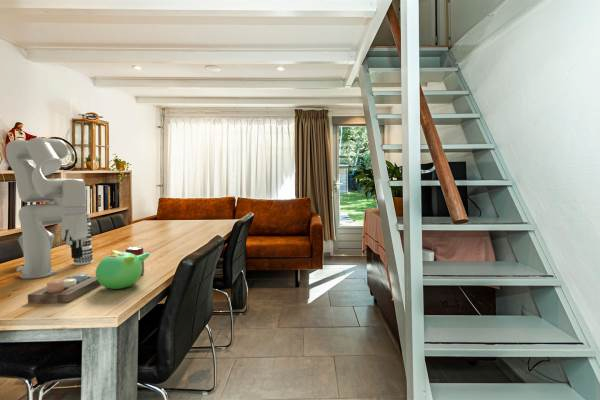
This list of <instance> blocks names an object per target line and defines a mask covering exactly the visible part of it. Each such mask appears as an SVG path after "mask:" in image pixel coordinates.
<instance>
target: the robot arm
mask: <svg viewBox="0 0 600 400" xmlns="http://www.w3.org/2000/svg"><path fill="white" fill-rule="evenodd" d="M68 153H69V148H68V146H67V144H66V143H65V141H63V140H62V139H60V138H59V139H58V138H57V139H56V138H46V137H34V138H30V139H29V140H24V139H23V140H22V139H19V140H17V139H16V140H11V141H9V142H8V143H7V144H6V145H5V156H6V160H7V162H8V165H9V166H10V168H11V170H12V171H13V175H14V177H15V182H16V188H17V192H18V197H19V199H20V200H21V201H22V202H24V203H32V204H27V205H23V206H21V208H20V209H19V211H18V219H19V223H20V227H21V235H23V250H22V252H23V251H24V252H23V265H19V266H18V267H17V268H16V271H17V272H21V274H20V275H19V277H20V279H23V280H32V279H42V278H46V277H50V276H53V275H55V274H56V269H52V258H51V257H52V255H51V251H50V236H49V233H48V232H47V231H48V230H47V229H46V228H45V227H44V228H45V229H46V230H47V231H46V230H45V229H44V228H43V227H42V226H48V225H57V224H61V226H60V227H61V228H60V230H61V231H60V232H61V235H60V236H61V238H60V239H61V241H62V242H65V245H66V246H69V248H70V249H71V250H70V251H71V258H72V259H74V258H80V257H82V246H83V241H85V240H86V237H87V236H88V224H87V218H86V214H87V201H86V198H87V197H86V183H85V181H84V180H83V179H80V178H79V179H78V178H46V176H49V175H51V174H54V173H56V172H57V171H59V170H60V169H61V167H62V161H61V160H62V159H65V158H66V157H67V156H68ZM29 161H33V162H34V164H35V166H34V164H33V163H31V162H29ZM45 202H47V203H45ZM33 203H37V204H33ZM41 277H42V278H41Z"/></svg>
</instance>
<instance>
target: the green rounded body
mask: <svg viewBox="0 0 600 400" xmlns="http://www.w3.org/2000/svg"><path fill="white" fill-rule="evenodd" d="M150 255H151V254H150V252H144V254H141V255H138V256H136V255H134V254H132V253H128V252H125V251H118V250H115V249H113V250H111V253H110V254H108V255H106V256H105V257H103V258H102V259H101V261H99V263H98V264H97V266H96V269H95V276H96V278H97V280H98V282H99V283H100V284H101V285H100V286H102V287H105V288H108V289H111V290H121V289H125V288H128V287H130V286H132V285H134V284H135V283H136V282H137V281H138V280H139V278H140V277H141V276H142V275H141V273H142V262H143V261H144V262H145V260H146V259H147V258H148V257H150Z"/></svg>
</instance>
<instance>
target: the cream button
mask: <svg viewBox="0 0 600 400" xmlns="http://www.w3.org/2000/svg"><path fill="white" fill-rule="evenodd" d="M61 280H62V279H61ZM62 281H64V287H73V286H75V285H77V284H76V279H66V280H62Z"/></svg>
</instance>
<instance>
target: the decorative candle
mask: <svg viewBox="0 0 600 400" xmlns="http://www.w3.org/2000/svg"><path fill="white" fill-rule="evenodd" d="M86 218H87V224H88V236H87V237H86V240H85V241H83V246H82V257H80V258H73V265H78V266H81V265H88V264H92V263H93V262H94V257H93V256H94V255H93V248H92V247H93V246H92V239H93V236H92V234H93V232H92V231H93V229H92V227H93V225H92V223H91V216H90V215H89V214H88V213H86Z"/></svg>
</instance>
